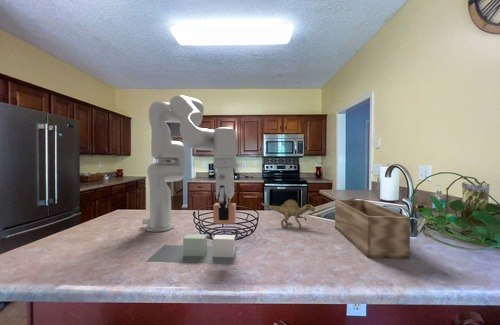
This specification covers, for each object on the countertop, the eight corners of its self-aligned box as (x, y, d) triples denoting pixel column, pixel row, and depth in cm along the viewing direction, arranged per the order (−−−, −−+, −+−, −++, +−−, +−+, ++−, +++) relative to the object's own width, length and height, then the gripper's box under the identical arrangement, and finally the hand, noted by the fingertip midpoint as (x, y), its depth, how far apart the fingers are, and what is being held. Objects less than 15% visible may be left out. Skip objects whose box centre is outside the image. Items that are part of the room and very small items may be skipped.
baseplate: (145, 263, 68) (145, 261, 68) (164, 247, 81) (164, 245, 81) (233, 266, 67) (233, 264, 67) (237, 249, 80) (237, 247, 80)
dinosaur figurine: (315, 229, 102) (315, 202, 102) (260, 226, 107) (260, 199, 107) (313, 225, 110) (313, 199, 110) (262, 222, 115) (262, 197, 114)
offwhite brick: (212, 256, 72) (212, 238, 71) (215, 251, 76) (215, 234, 75) (233, 257, 71) (233, 239, 71) (235, 252, 75) (235, 235, 75)
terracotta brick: (213, 223, 71) (213, 205, 71) (215, 220, 75) (215, 203, 75) (234, 223, 71) (234, 205, 71) (235, 220, 75) (235, 203, 75)
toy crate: (367, 257, 73) (367, 216, 73) (335, 227, 105) (335, 199, 105) (409, 258, 73) (410, 217, 72) (364, 228, 105) (364, 200, 104)
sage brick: (183, 255, 72) (183, 238, 72) (187, 250, 76) (187, 234, 76) (203, 256, 72) (203, 238, 72) (206, 251, 76) (207, 234, 76)
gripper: (232, 164, 64) (232, 225, 64) (238, 164, 81) (238, 212, 81) (207, 164, 65) (207, 225, 65) (218, 164, 81) (218, 212, 82)
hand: (224, 217), depth 73 cm, fingers closed on terracotta brick, 3 cm apart
